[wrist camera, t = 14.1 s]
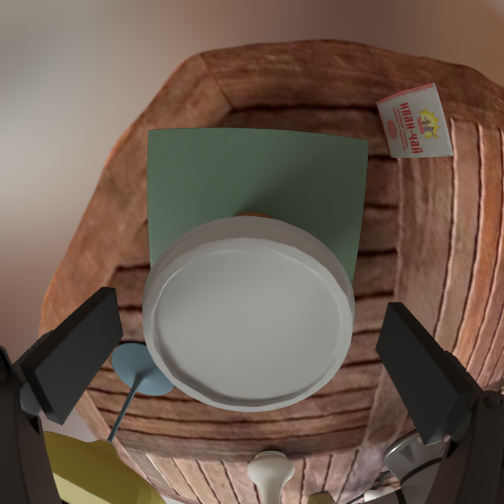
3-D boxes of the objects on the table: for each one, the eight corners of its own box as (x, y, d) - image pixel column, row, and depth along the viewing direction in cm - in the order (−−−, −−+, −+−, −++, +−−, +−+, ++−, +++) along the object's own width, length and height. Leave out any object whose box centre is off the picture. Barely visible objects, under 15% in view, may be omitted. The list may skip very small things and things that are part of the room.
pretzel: (402, 479, 53) (410, 501, 44) (380, 496, 56) (386, 517, 48) (372, 484, 52) (379, 508, 43) (351, 500, 55) (356, 522, 47)
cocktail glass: (74, 334, 38) (-13, 441, 14) (161, 306, 35) (69, 469, 11) (132, 412, 43) (88, 522, 19) (220, 399, 40) (198, 545, 16)
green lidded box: (319, 304, 35) (337, 352, 25) (183, 297, 35) (159, 343, 25) (336, 146, 29) (369, 140, 19) (181, 139, 29) (148, 130, 20)
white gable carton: (401, 99, 27) (447, 82, 17) (415, 152, 29) (465, 153, 19) (375, 102, 27) (418, 83, 18) (390, 157, 29) (437, 158, 19)
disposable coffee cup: (174, 216, 22) (93, 273, 10) (291, 173, 20) (331, 184, 9) (219, 319, 24) (194, 429, 13) (326, 285, 23) (375, 385, 12)
